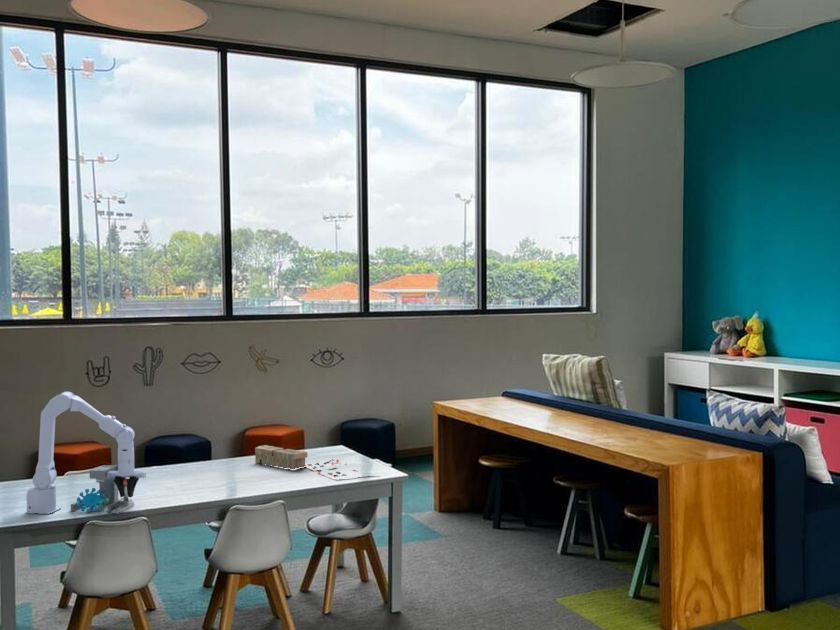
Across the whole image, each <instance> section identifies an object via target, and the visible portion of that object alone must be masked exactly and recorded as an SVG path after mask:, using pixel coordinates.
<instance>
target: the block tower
mask: <svg viewBox="0 0 840 630" xmlns="http://www.w3.org/2000/svg"><path fill="white" fill-rule="evenodd" d="M254 450H255V451H254V452H255V454H254V456H255V459H254V460H255V464H256V463H262V464H266V465H272V466H278V467H283V468H290V469H295V468H299V467H304V466H306V465H305V462H306V458H308V451H305V450H296V449H291V448H286V449H284V447H279V446H274V445H267V444H264V445H258V446H257V447H255V448H254ZM262 464H261V465H262ZM266 465H265V466H266Z"/></svg>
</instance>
